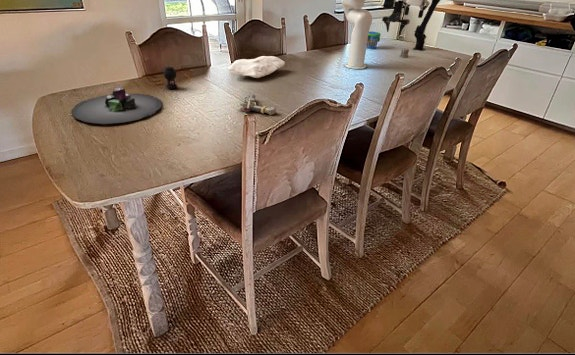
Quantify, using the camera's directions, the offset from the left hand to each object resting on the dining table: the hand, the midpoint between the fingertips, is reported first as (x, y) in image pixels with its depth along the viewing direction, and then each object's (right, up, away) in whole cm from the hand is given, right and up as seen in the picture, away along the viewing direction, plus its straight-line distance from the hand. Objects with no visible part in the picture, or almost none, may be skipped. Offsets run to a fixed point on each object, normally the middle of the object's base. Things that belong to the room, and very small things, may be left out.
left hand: (412, 16), depth 214 cm
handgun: (-87, -65, -56) cm, 122 cm away
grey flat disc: (-145, -66, -63) cm, 171 cm away
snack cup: (-14, -2, +47) cm, 49 cm away
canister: (+4, -14, +29) cm, 33 cm away
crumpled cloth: (-92, -39, -16) cm, 101 cm away
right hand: (+4, +11, +52) cm, 53 cm away
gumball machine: (-130, -52, -39) cm, 146 cm away
